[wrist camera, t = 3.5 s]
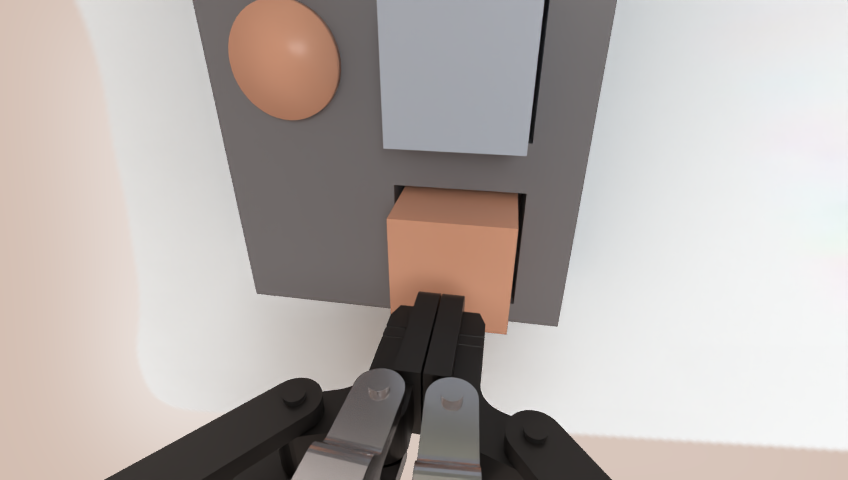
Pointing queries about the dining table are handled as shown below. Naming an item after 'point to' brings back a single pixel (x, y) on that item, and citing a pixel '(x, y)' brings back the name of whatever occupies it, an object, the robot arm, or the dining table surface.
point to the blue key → (458, 74)
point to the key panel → (363, 147)
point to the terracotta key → (454, 249)
